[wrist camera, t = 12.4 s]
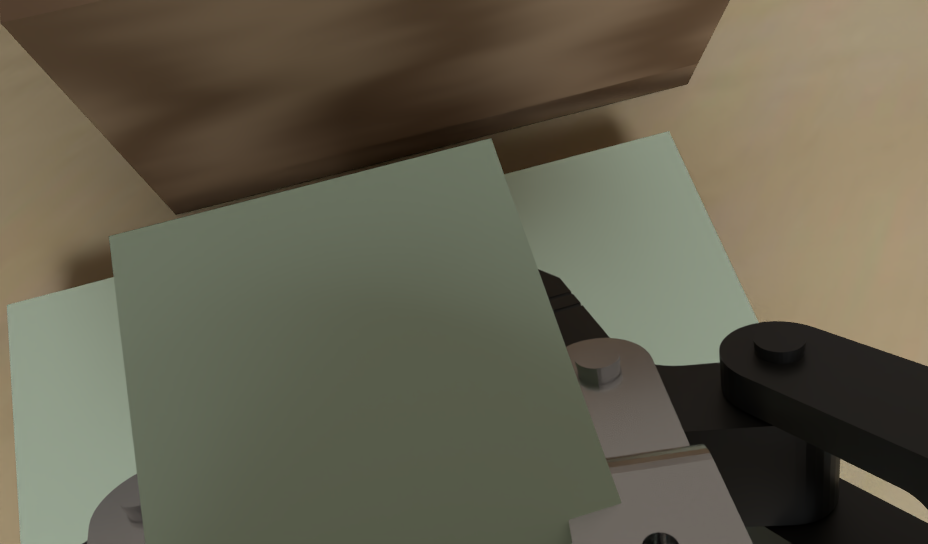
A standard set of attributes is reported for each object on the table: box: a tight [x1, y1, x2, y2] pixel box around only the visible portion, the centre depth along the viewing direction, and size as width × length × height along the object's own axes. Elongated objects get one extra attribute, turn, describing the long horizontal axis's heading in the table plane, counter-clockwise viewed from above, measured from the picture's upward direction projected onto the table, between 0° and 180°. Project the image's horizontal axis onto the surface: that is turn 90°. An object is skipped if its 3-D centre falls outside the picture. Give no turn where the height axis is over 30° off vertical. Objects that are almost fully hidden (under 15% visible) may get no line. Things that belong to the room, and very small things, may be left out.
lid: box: [7, 131, 758, 544], centre depth 11 cm, size 17×13×11 cm
